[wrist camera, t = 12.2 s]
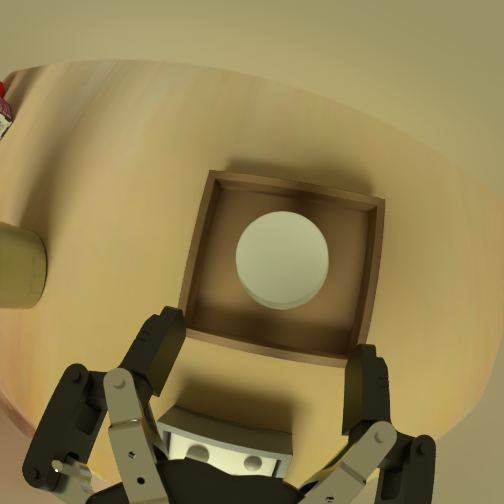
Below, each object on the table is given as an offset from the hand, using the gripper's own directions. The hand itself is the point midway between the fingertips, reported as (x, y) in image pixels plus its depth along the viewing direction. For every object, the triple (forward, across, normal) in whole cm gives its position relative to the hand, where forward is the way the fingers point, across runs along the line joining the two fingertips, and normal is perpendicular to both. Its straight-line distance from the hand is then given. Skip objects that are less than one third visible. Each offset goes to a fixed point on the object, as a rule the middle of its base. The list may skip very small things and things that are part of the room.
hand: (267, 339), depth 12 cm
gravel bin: (-3, +2, +15) cm, 16 cm away
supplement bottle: (+8, 0, +3) cm, 9 cm away
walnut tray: (+9, 0, +3) cm, 9 cm away
